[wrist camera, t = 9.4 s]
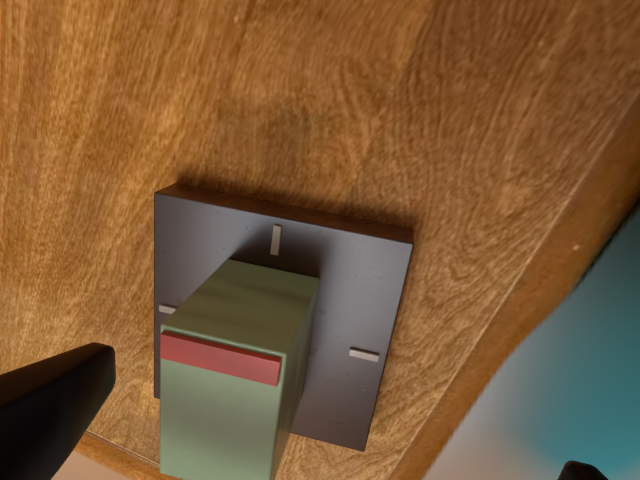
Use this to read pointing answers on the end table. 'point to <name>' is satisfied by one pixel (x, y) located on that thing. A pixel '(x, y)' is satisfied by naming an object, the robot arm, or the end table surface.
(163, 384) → the box
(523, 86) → the end table surface
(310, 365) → the plate
